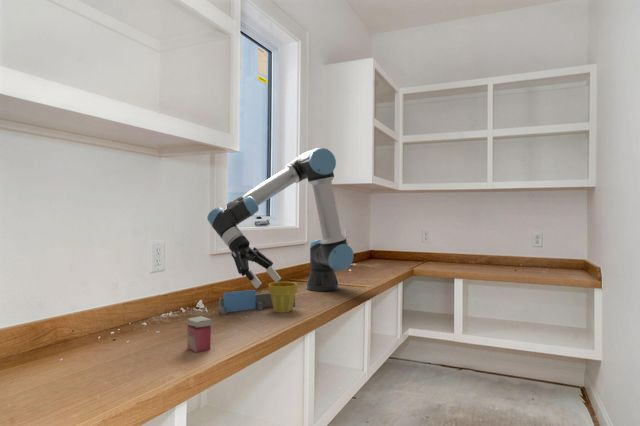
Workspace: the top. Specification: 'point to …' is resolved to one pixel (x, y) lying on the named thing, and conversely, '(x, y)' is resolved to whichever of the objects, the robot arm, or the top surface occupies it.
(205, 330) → the small box
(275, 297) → the plant pot
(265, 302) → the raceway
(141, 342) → the top surface
